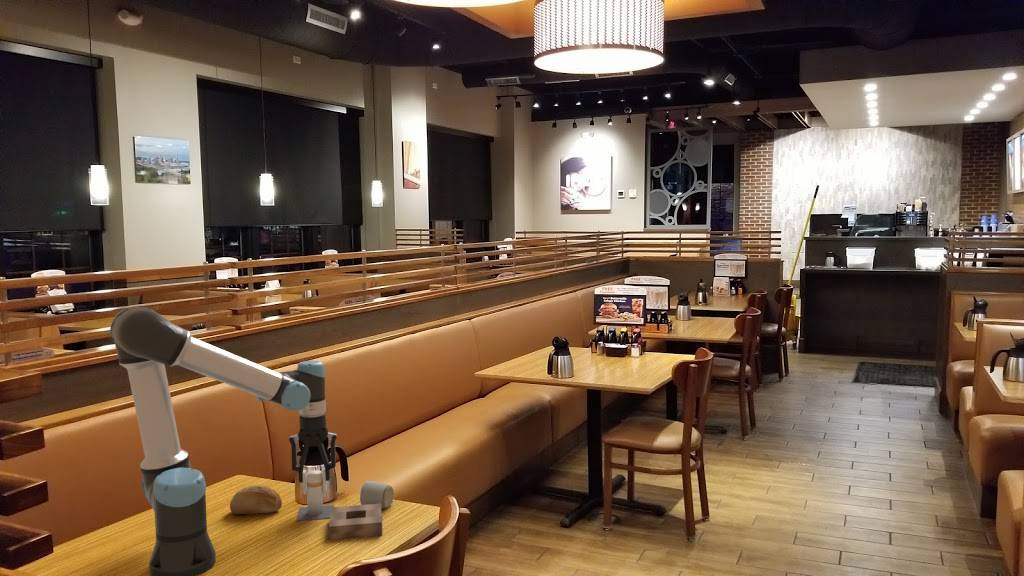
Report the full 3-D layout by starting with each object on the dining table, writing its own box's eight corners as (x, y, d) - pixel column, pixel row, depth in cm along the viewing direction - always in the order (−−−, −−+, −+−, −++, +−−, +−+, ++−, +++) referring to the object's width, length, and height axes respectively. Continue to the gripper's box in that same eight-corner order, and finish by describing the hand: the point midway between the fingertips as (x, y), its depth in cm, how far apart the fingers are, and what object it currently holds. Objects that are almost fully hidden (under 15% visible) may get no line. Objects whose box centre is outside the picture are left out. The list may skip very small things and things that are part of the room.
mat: (296, 522, 211) (296, 520, 211) (299, 509, 221) (299, 507, 221) (332, 519, 213) (332, 517, 213) (334, 506, 223) (333, 505, 223)
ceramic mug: (384, 513, 218) (384, 487, 217) (359, 510, 220) (359, 484, 219) (399, 500, 228) (399, 476, 227) (375, 498, 230) (375, 474, 230)
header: (328, 541, 198) (327, 526, 198) (331, 520, 212) (330, 507, 212) (382, 536, 201) (382, 522, 200) (382, 516, 215) (381, 503, 215)
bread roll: (278, 517, 215) (277, 491, 214) (225, 520, 213) (224, 493, 213) (285, 505, 224) (284, 480, 224) (234, 507, 223) (233, 482, 222)
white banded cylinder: (306, 516, 214) (305, 475, 213) (308, 510, 219) (307, 470, 218) (322, 514, 215) (321, 474, 214) (323, 509, 220) (322, 469, 219)
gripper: (278, 419, 209) (281, 499, 211) (343, 415, 213) (345, 494, 215) (282, 412, 217) (284, 489, 219) (344, 409, 220) (346, 485, 222)
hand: (314, 491), depth 217 cm, fingers open, 5 cm apart
